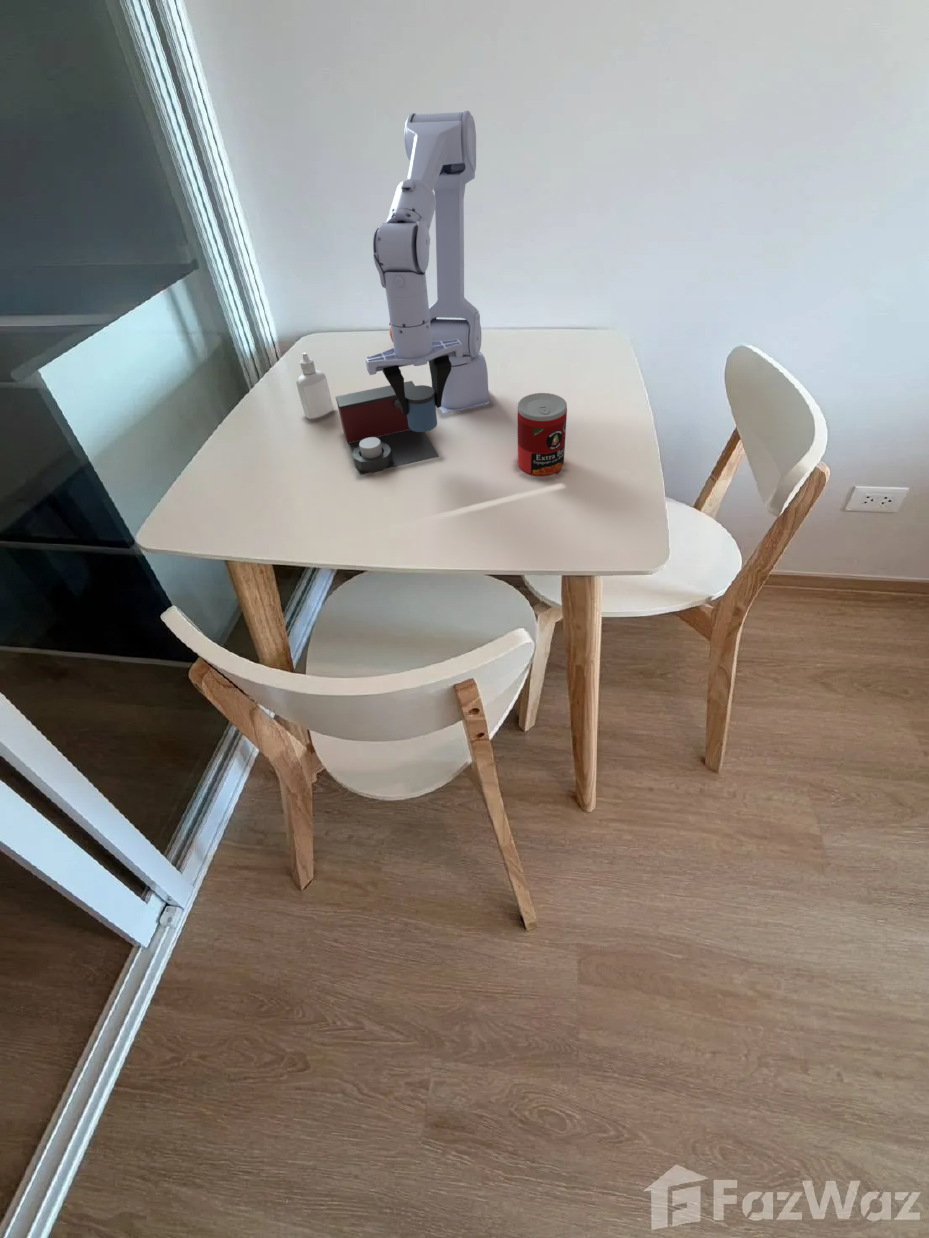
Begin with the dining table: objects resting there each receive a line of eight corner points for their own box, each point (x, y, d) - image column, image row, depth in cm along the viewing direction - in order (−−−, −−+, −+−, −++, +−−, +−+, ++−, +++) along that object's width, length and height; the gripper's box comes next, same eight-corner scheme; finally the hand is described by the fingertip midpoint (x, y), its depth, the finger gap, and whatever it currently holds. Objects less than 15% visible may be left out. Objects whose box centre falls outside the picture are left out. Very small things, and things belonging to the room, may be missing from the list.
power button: (384, 456, 105) (382, 445, 103) (363, 461, 104) (361, 450, 103) (379, 446, 107) (377, 435, 106) (359, 450, 107) (357, 439, 105)
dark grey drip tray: (440, 460, 107) (438, 446, 105) (359, 478, 105) (356, 465, 103) (422, 429, 115) (421, 416, 113) (347, 446, 112) (344, 433, 110)
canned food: (533, 484, 100) (534, 422, 92) (508, 462, 105) (507, 401, 97) (573, 470, 102) (577, 407, 94) (546, 448, 107) (548, 387, 99)
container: (433, 414, 103) (429, 382, 99) (442, 428, 100) (438, 396, 96) (404, 421, 102) (399, 389, 98) (412, 435, 99) (407, 402, 95)
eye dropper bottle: (335, 417, 120) (320, 355, 111) (306, 422, 119) (289, 360, 111) (333, 407, 123) (319, 346, 114) (304, 412, 122) (288, 351, 114)
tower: (424, 432, 114) (419, 392, 108) (349, 449, 111) (340, 409, 106) (416, 419, 117) (412, 380, 112) (343, 435, 115) (335, 396, 109)
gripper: (366, 339, 85) (382, 429, 95) (466, 320, 87) (471, 410, 97) (356, 321, 90) (372, 409, 99) (451, 303, 92) (458, 391, 102)
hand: (420, 408), depth 99 cm, fingers closed on container, 5 cm apart
